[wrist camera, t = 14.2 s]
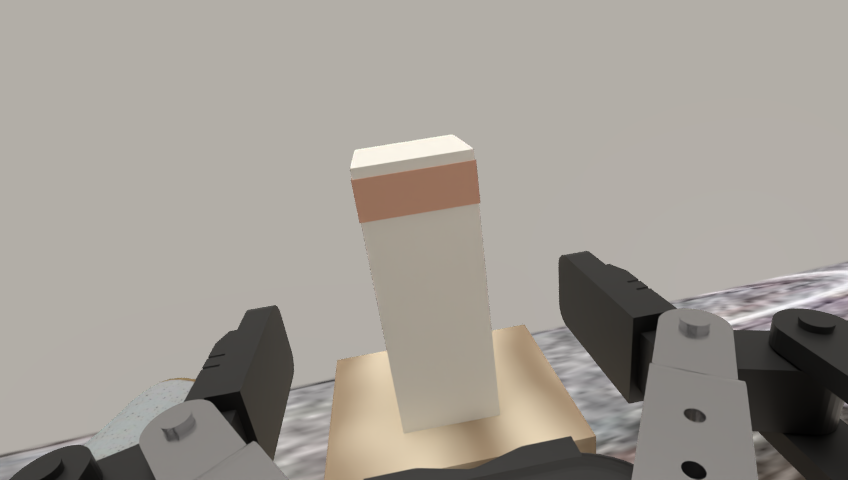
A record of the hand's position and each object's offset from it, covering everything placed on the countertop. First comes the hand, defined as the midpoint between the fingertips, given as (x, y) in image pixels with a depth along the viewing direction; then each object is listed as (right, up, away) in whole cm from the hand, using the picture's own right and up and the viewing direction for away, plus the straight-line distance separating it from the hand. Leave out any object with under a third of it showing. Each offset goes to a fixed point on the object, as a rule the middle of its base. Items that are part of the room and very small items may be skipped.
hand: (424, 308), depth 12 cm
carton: (+1, -7, +15) cm, 17 cm away
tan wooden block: (+2, -12, +16) cm, 21 cm away
